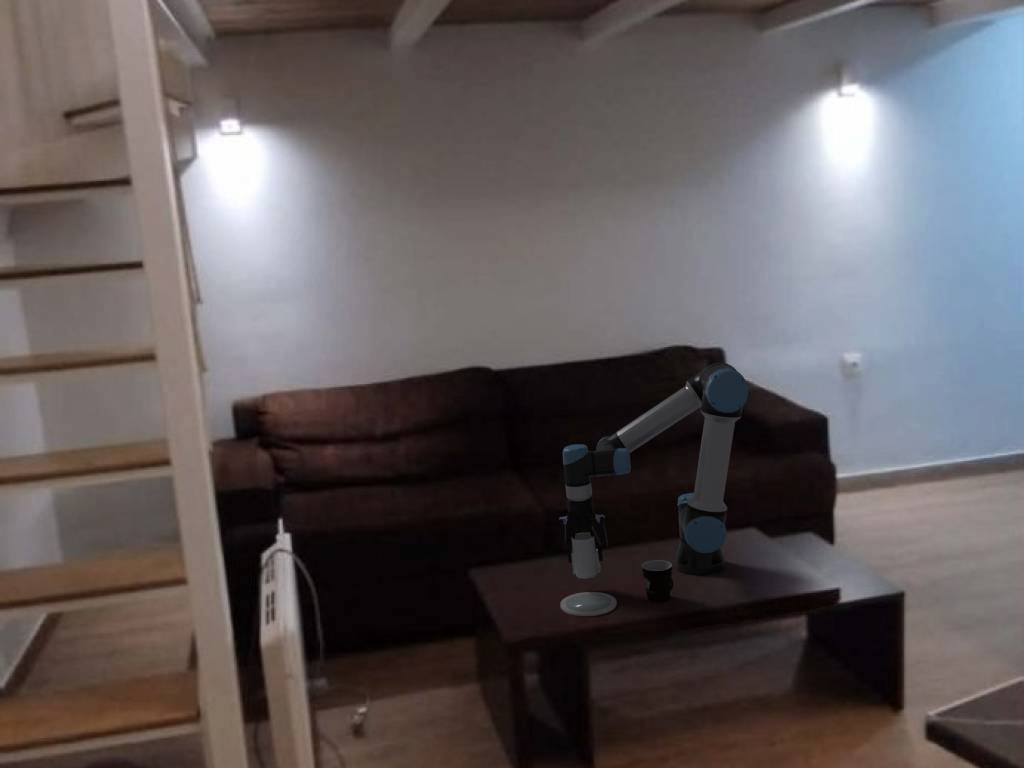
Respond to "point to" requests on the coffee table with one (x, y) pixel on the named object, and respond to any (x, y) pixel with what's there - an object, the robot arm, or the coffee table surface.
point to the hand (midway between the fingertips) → (587, 571)
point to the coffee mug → (658, 580)
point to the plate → (588, 604)
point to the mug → (584, 555)
